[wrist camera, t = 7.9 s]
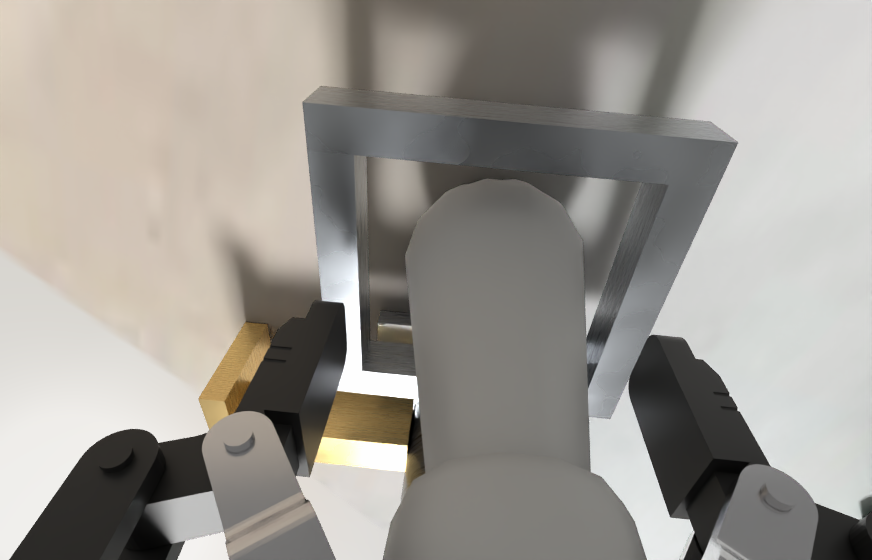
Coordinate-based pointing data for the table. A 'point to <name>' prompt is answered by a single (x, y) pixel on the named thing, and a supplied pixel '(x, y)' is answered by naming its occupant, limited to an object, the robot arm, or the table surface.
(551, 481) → the salt shaker
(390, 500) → the table surface
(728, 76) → the table surface
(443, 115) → the square post stand
